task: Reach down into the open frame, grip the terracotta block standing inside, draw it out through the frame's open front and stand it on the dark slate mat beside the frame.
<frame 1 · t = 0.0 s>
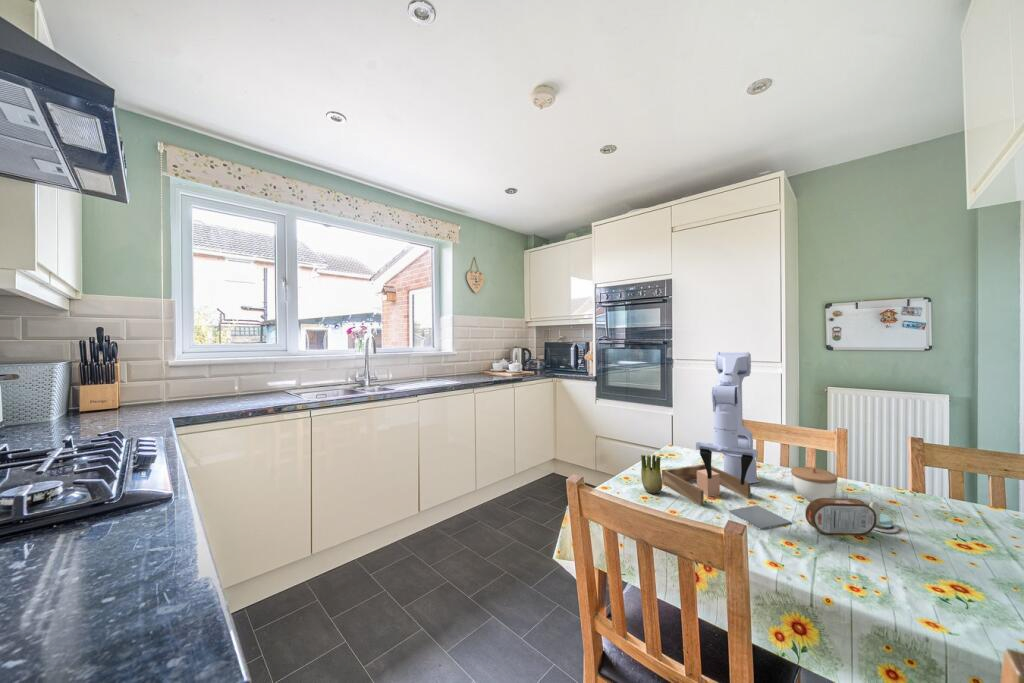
hand: (725, 481, 99), 11 cm above the table, tool pointing down, fingers open, 7 cm apart
open frame: (704, 490, 118), on the table
fennel bulb: (652, 492, 118), on the table
block: (708, 492, 116), on the table
lidded jar: (813, 499, 110), on the table
tin: (841, 534, 91), on the table
mat: (759, 517, 100), on the table
pacifier: (881, 528, 93), on the table
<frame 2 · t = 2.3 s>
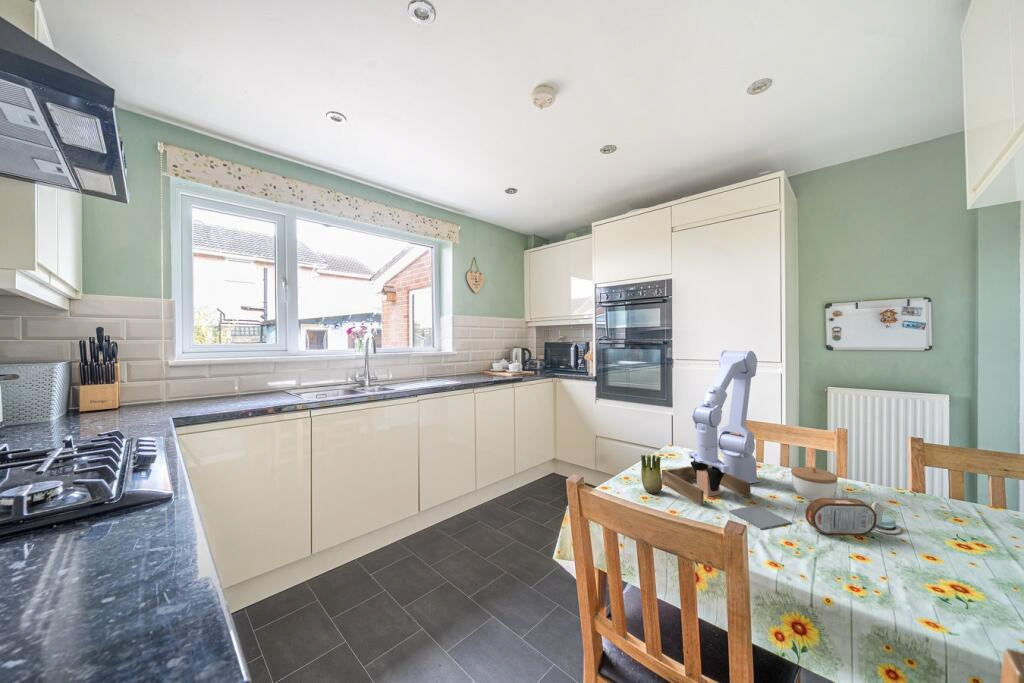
hand: (708, 487, 116), 2 cm above the table, tool pointing down, fingers closed on block, 4 cm apart
block: (708, 492, 116), on the table, touching gripper
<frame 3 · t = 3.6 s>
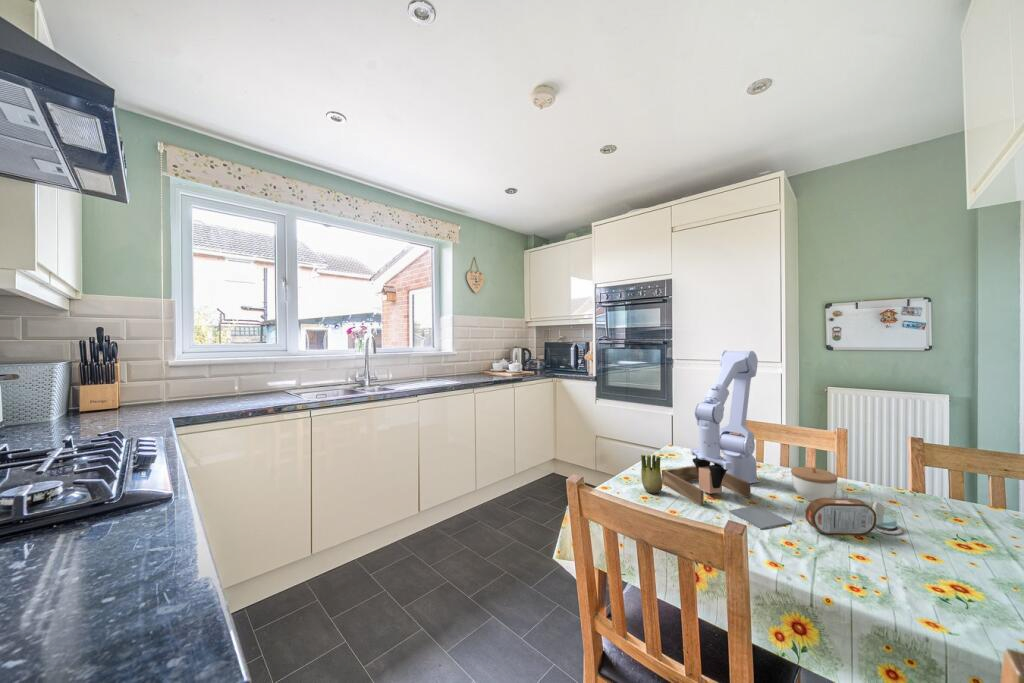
hand: (710, 484, 115), 3 cm above the table, tool pointing down, fingers closed on block, 4 cm apart
block: (710, 489, 115), point 1 cm above the table, touching gripper
everything else where it was.
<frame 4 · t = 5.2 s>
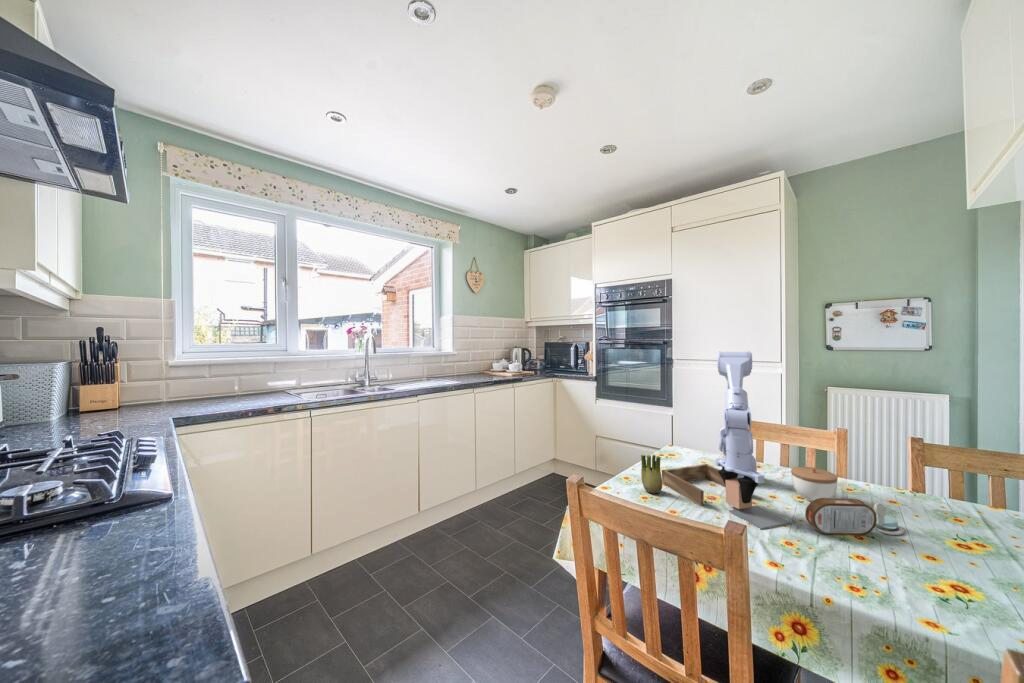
hand: (738, 498, 105), 3 cm above the table, tool pointing down, fingers closed on block, 4 cm apart
block: (738, 504, 105), point 1 cm above the table, touching gripper
everything else where it was.
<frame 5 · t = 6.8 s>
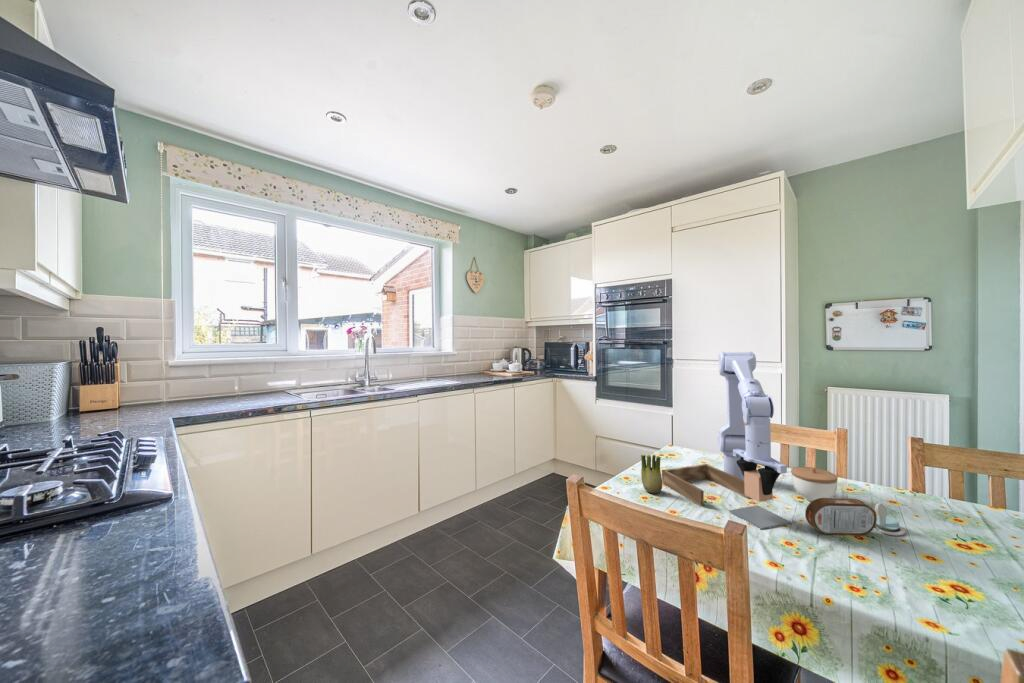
hand: (758, 490, 100), 7 cm above the table, tool pointing down, fingers closed on block, 4 cm apart
block: (758, 497, 100), point 6 cm above the table, touching gripper
when the fingers open (3 cm above the table, at t = 8.1 s): block stays where it is, resting on mat.
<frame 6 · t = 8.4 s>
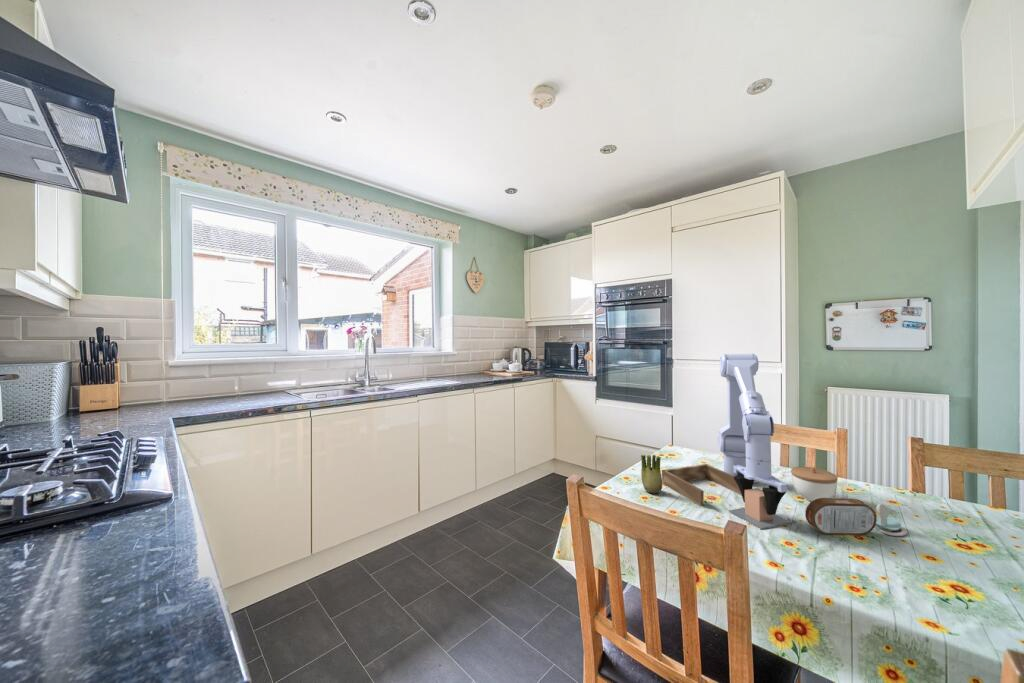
hand: (759, 507, 100), 3 cm above the table, tool pointing down, fingers open, 7 cm apart
block: (758, 515, 100), resting on mat
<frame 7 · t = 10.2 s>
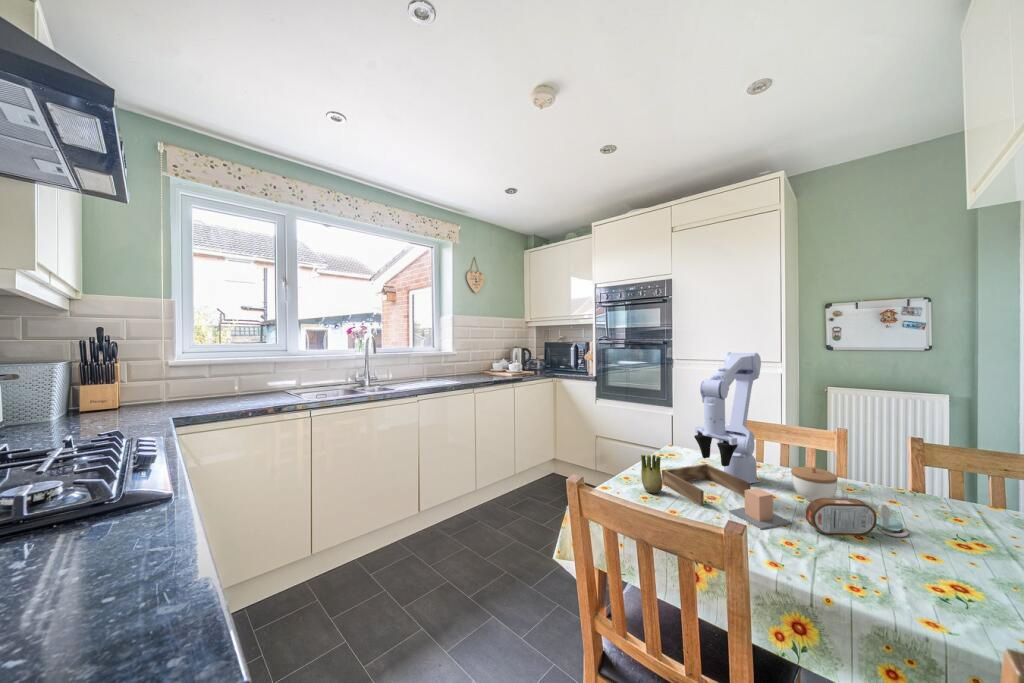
hand: (715, 461, 114), 10 cm above the table, tool pointing down, fingers open, 7 cm apart
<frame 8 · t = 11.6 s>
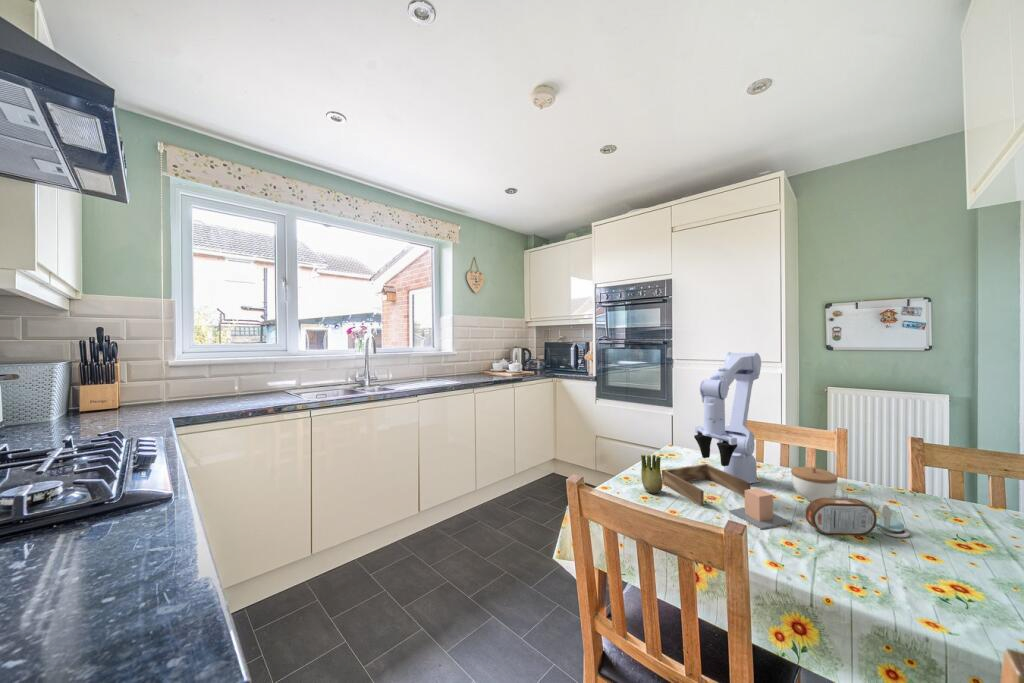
hand: (715, 461, 114), 10 cm above the table, tool pointing down, fingers open, 7 cm apart
at the end: block inside the target area on the mat (0.1 cm from its centre), point 0.4 cm above the mat's base; block tilted 0°; the gripper is holding nothing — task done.
